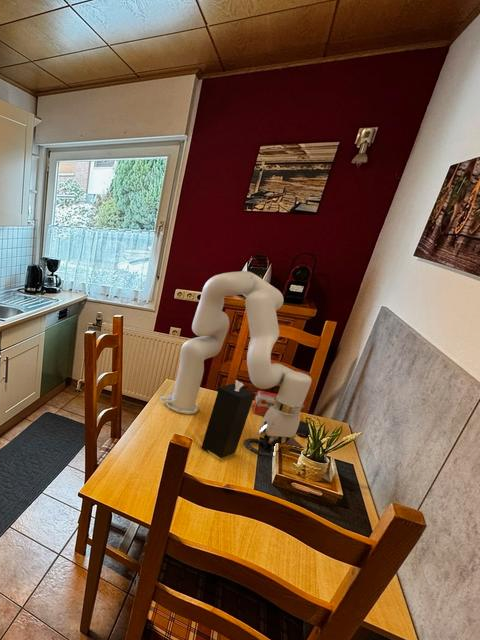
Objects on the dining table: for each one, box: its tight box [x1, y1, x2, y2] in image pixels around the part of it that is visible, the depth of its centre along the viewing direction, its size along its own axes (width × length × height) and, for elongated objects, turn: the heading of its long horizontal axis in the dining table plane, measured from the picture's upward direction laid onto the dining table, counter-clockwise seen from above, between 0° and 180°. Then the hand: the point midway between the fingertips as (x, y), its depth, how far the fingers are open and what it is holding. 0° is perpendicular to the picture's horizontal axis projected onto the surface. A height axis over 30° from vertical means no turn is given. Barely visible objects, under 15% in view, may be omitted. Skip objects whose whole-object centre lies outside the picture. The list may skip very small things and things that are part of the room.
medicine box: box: [253, 390, 302, 417], centre depth 164 cm, size 15×8×8 cm, turn 61°
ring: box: [243, 437, 274, 458], centre depth 140 cm, size 10×10×2 cm
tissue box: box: [201, 379, 256, 459], centre depth 133 cm, size 8×8×28 cm
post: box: [265, 432, 305, 449], centre depth 144 cm, size 9×9×12 cm
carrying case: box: [295, 420, 309, 438], centre depth 155 cm, size 11×3×15 cm
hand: (270, 450), depth 141 cm, fingers closed on ring, 2 cm apart
